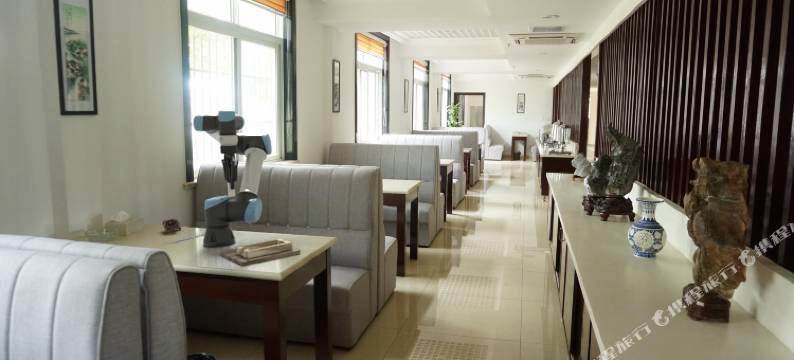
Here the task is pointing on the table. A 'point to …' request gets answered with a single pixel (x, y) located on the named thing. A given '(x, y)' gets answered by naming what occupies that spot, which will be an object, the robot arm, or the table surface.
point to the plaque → (189, 238)
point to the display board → (245, 261)
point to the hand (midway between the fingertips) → (231, 196)
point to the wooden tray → (263, 248)
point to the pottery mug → (171, 225)
